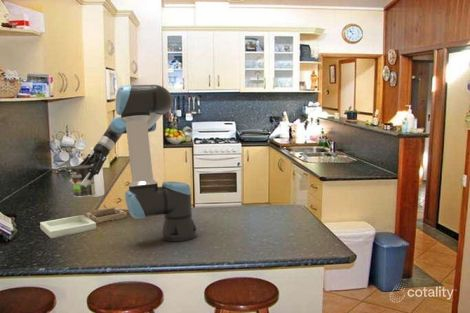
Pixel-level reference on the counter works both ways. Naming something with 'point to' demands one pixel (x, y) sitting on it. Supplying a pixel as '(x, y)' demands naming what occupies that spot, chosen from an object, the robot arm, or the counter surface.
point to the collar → (93, 214)
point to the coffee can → (78, 177)
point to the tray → (67, 226)
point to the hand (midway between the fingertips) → (77, 184)
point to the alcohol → (98, 181)
